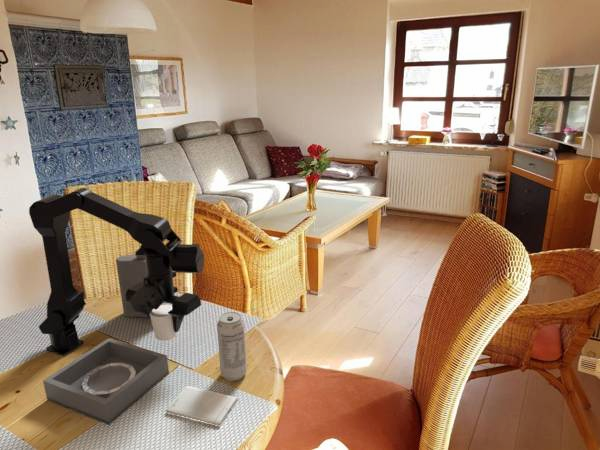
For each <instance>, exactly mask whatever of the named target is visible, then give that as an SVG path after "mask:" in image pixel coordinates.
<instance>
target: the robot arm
mask: <svg viewBox="0 0 600 450" xmlns="http://www.w3.org/2000/svg"><path fill="white" fill-rule="evenodd" d="M75 210H80V211H82V212H85V213H87V214H89V215H91V216H93V217H96V218H98V219H100V220H102V221H104V222H106V223H109V224H111V225H113V226H115V227H118V228H120V229H122V230H123V231H125V232H127V233H128V235H130V237H131V238H132V239H133V240H134V241H136V242H137V243H139V244H140V247H139V248H138V249H139V250H137V249H136V250H137V251H136V250H135V251H136V252H135V251H134V255H135V254H136V255H145V261H146V269H147V276H146V277H144V280H143V283H142V282H140V283H138V284H136V285H134V286H132V287H131V288H129V289H127V291H126V293H125V295H126V301H129V302H130V303H131V305H132V307H133V309H134V311H136V312H141V313H144V314H147V315H148V317H149V321H150V323H152V321H151V317H150V313H151V312H152V310H153V309H158V308H159V307H160V305H161V304H162V303H170V304H172V310H171V311H169V312H168V314H170V315H172V321H173V328H174V331H175V332H178V331H180V328H181V326H182V323H183V322H184V319H185V318H184V317H186V316H188V315H190V314H191V313H192V312H195V310H196V309H198V308H199V307H200V306H202V301H201V296H199V294H194V293H190V292H184V293H183V294H181V295H180V296H178V295H175V294H176V293H178V291H179V290H178V287H177V286H174V285H175V284H174V278H175V277H177V273H179V274H180V273H182V274H183V273H185V274H202V272H203V270H204V265H205V255H204V253H203V250H202V249H201V246H200V244H199V243H192V244H185V243H184V244H183V243H182V241H183V240H182V239H181V238H180V237H179V235H178V234H177V233H176V232H175V231H174V230H173V229H172V227H171V224H170V222H169V221H168V219H166V218H165V217H161V216H158V215H155V214H151V213H141V212H137V211H134V210H132V209H130V208H128V207H126V206H123V205H121V204H119V203H116V202H114V200H113V201H112V200H110V199H108V198H106V197H105V196H101V195H99V194H97V193H95V192H93V191H92V190H91V189H90V188H87V187H80V188H78V189H75V190H74V191H72V192H69V193H67V194H64V195H59V194H56V193H55V194H51V195H49V196H46V197H43V198H41V199H39V200H37V201H34V202H32V204H31V205H29V209H28V214H29V217H30V219H31V223H32V226H33V228H34V229H35V230H36V232H38V233H39V235H40V236H41V239H42V243H43V244H42V245H43V249H44V254H45V255H44V257H45V262H46V266H47V275H48V278H49V279H48V280H49V285H50V293H49V297H48V299H47V303H46V318H45V319H44V320H43V321H42V322H41V324H40V325H38V329H39V330H40V331H41V332H40V333H42V334H43V335H48V336H49V341H50V345H48V346H47V347H46V348H45V349H46V351H47V352H51V353H54V354H56V355H60V356H65V355H67V354H69V353H71V352H72V351H73V350H75V349H77V348H79V346H81V345H83V344H84V343H85V340H82V339H79V336H78V335H79V334H78V331H77V328H76V324H75V323H74V322H75V321H76V320H77V319H79V317H80V314H81V313H82V312H83V311H84V307H85V306H86V305H87V303H86V301H85V299H84V298H85V293H84V291H83V290H80V291H78V289H77V288H76V287H75V286H74V283H73V277H72V270H71V262H70V256H69V249H68V243H67V236H66V232H67V229H68V225H69V222H70V216H71V215H70V212H71V211H75ZM166 240H167V242H166V243H164V242H165V241H166ZM148 317H147V318H148ZM178 333H179V332H178Z"/></svg>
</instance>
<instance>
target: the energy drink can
mask: <svg viewBox="0 0 600 450" xmlns="http://www.w3.org/2000/svg"><path fill="white" fill-rule="evenodd" d="M216 324H217V325H216V329H217V330H216V331H217V340H218V341H217V343H218V345H217V346H218V356H219V370H220V375H221V376H222V377H223V378H224V379H225V380H226V381H228V382H229V381H230V382H235V381H239V380H242V379H243V378H244V377H245V374H246V373H247V372H248V371H247V369H248V368H247V366H248V365H247V353H246V352H247V351H246V333H245V332H246V331H245V321H244V320H243V319H242V315H241V314H240V313H239V312H236V311H227V312H224V313H222V314H221V315H219V318H218V321H217V323H216Z"/></svg>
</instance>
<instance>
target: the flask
mask: <svg viewBox="0 0 600 450" xmlns="http://www.w3.org/2000/svg"><path fill="white" fill-rule="evenodd" d="M137 250H139V248H137V249H136V250H135V251H134V254H123V255H120V256H118V257H117V258H116V259H115V264H116V269H117V277H118V283H119V289H120V290H119V291H120V297H121V303H122V304H121V305H122V311H123V316H125V317H127V318H148V315H147V314H144V313H141V312H136V311H134V309H133V307H132V305H131V303H130V302H129V301H126V295H125V293H126V291H127V289H129V288H131V287H132V286H134V285H136V284H138V283H140V282H142V283H143V280H144V277H146V276H147V269H146V261H145V255H136V254H135V252H136V251H137ZM162 304H163V303H162Z"/></svg>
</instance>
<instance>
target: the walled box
mask: <svg viewBox="0 0 600 450" xmlns="http://www.w3.org/2000/svg"><path fill="white" fill-rule="evenodd" d="M168 361H169V360H168V355H167V354H163V353H159V352H157V351H154V350H150V349H147V348H144V347H140V346H136V345H134V344H130V343H127V342H123V341H120V340H116V339H114V338H110V337H108V338H107V339H105V340H104V341H102V342H101V343H99V344H97V345H96V346H94V347H93V348H91V349H89V350H88V351H86V352H85V353H84V354H82V355H80V356H79V357H77V358H76V359H74V360H72V361H71V362H70V363H68V364H66V365H64V366H63V367H62V368H60V369H59V370H57V371H56V372H54V373H53V374H50V375H49V376H48V377H46V378H45V379H43V380H42V382H43V386H44V387H43V388H44V392H45V396H46V400H47V401H49V402H51V403H53V404H56V405H58V406H61V407H63V408H66V409H68V410H70V411H73V412H76V413H78V414H80V415H84V416H86V417H88V418H91V419H93V420H95V421H98V422H100V423H103V424H106V425H108V426H110V425H111V424H112V423H113V422H114V421H116V420H117V419H118V418H120V416H122V415H123V414H124V413H125V412H126V411H127V410H128V409H130V408H131V407H132V406H134V405H135V403H137V402H138V401H140V399H141V398H143V397H144V396H145V395H146V394H148V392H149V390H150V391H151V390H152V389H153V388H154V387H155V386H156V384H157V383H158V382H159V383H160V382H161V381H163V378H164V377H165V378H166V377H167V376H169V374H170V372H169V371H170V370H169V363H168ZM110 363H125V364H129V365H132V366H133V368H134V369H135V371H136V376H134V377H133V378H132V379H131V380H129V377H130V374H129V373H127V372H124V371H110V372H108V373H105V374H102V375H99V376H98V377H97V378H95V379H94V380H92V381H91V383H90V385H89V386H88V388H89V389H92V390H94V391H109V390H112V389H114V388H117V387H120V386H121V385H123V384H124V383H125V382H126V381H128V380H129V381H128V382H127V383H126V384H124V385H123V386H122V387H120V388H119V389H118V390H117V391H115V392H114V393H113V394H112V395H110V396H109V397H108V398H107V399H104V398H102V397H99V396H96V395H94V394H91V393H88V392H86V391H83V390H82V385H81V383H82V382H83V380H84V378H85V376H86V375H87V374H89V373H90V372H91V371H93V370H94V369H96V368H98V367H101V366H104V365H107V364H110ZM165 378H164V379H165ZM159 383H158V384H159ZM158 384H157V385H158ZM151 388H152V389H151Z"/></svg>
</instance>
